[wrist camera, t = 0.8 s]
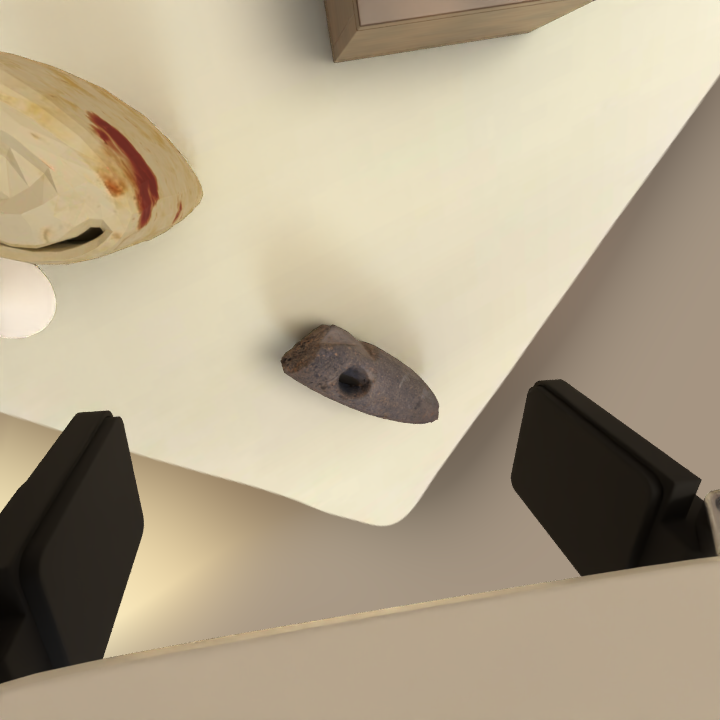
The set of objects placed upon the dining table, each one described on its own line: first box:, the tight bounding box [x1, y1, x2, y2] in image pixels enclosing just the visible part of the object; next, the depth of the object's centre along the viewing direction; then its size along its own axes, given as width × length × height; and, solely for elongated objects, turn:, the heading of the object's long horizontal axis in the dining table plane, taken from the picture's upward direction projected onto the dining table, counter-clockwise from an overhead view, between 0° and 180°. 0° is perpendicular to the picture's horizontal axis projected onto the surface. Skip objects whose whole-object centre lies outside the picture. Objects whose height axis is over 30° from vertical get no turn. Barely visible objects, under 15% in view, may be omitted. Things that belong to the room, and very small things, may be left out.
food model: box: [0, 51, 203, 264], centre depth 22 cm, size 10×7×20 cm
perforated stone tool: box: [281, 325, 439, 424], centre depth 37 cm, size 15×5×7 cm, turn 56°
